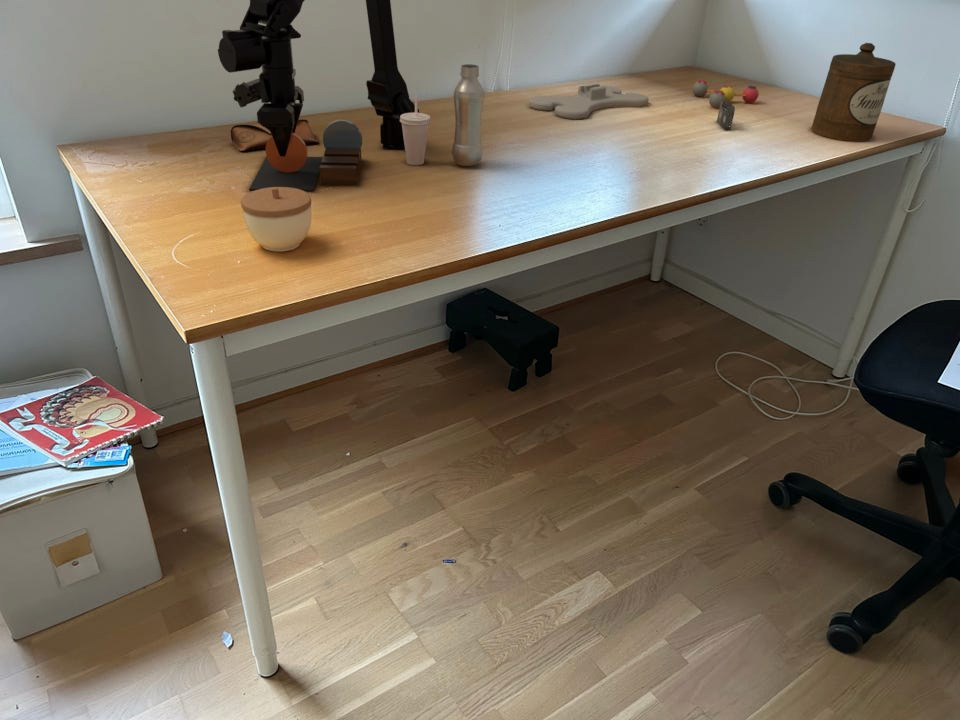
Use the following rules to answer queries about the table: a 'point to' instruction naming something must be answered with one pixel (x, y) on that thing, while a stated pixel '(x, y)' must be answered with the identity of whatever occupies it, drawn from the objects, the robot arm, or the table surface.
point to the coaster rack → (340, 166)
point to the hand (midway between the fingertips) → (286, 148)
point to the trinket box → (277, 217)
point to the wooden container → (853, 95)
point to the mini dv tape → (725, 114)
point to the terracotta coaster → (287, 155)
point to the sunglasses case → (264, 135)
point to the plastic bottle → (468, 117)
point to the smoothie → (415, 135)
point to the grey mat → (288, 176)
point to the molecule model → (724, 93)
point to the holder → (587, 101)
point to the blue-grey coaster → (342, 135)
